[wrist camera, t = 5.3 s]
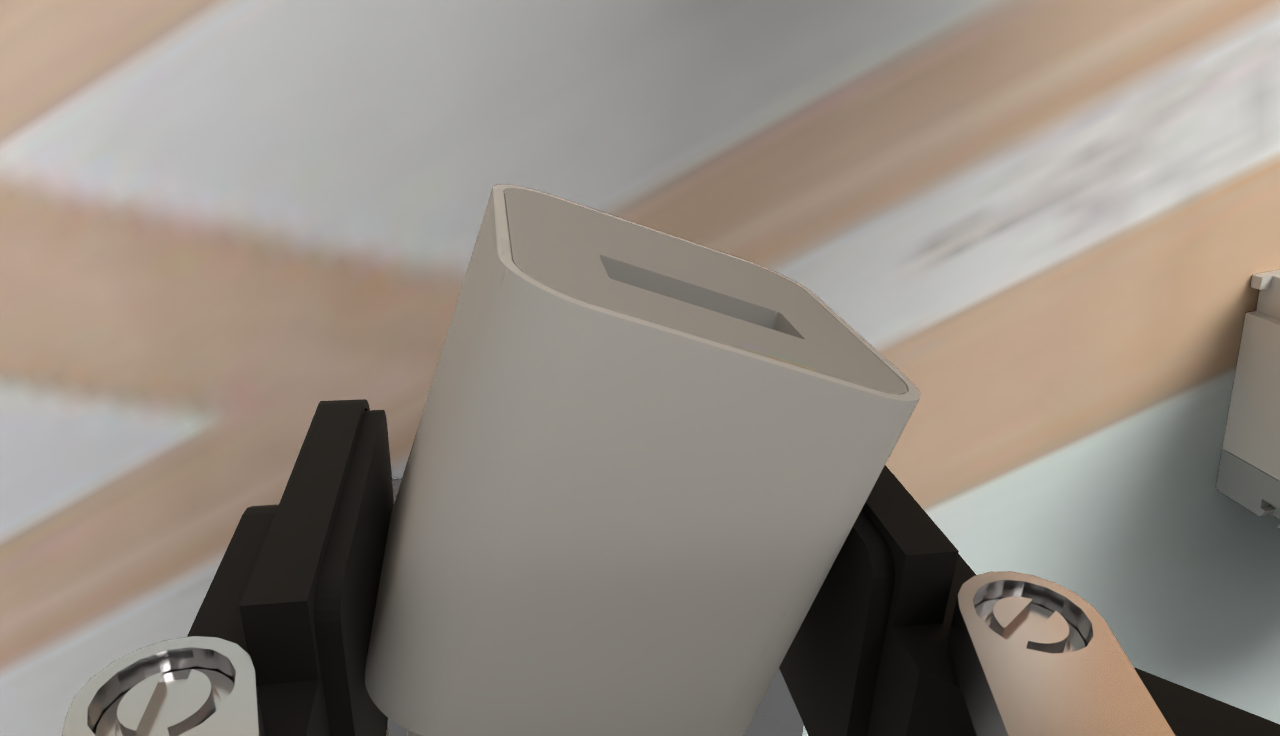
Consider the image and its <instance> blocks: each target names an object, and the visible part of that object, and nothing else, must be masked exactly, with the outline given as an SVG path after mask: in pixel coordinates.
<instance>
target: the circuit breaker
mask: <svg viewBox="0 0 1280 736" xmlns="http://www.w3.org/2000/svg"><path fill="white" fill-rule="evenodd" d="M1250 287H1251V288H1255V289H1259V290H1260V292H1259V297H1258V303H1257V308H1256V311H1253V312H1248V313H1246V315H1245V321H1244V326H1243V332H1242V338H1241V344H1240V349H1239V355H1238V361H1237V367H1236V372H1235V378H1234V384H1233V389H1232V395H1231V401H1230V407H1229V412H1228V418H1227V424H1226V430H1225V435H1224V441H1223V447H1222V453H1221V458H1220V464H1219V470H1218V476H1217V482H1216V488H1217V490H1218V491H1219V492H1221V493H1223V494H1224V495H1226V496H1227V497H1229V498H1231V499H1232V500H1234V501H1235V502H1237V503H1239V504H1240V505H1242V506H1243V507H1245V508H1247V509H1248V510H1250V511H1252V512H1253V513H1255V514H1256V515H1258V516H1265V515H1269V514H1271V515H1272V516H1274V517H1276V518H1277V519H1279V520H1280V270H1275V271H1270V272H1264V273H1259V274H1253V275H1252V281H1251V286H1250ZM1277 528H1279V529H1280V525H1279V526H1277Z"/></svg>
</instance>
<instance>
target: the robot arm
mask: <svg viewBox="0 0 1280 736" xmlns="http://www.w3.org/2000/svg"><path fill="white" fill-rule="evenodd" d="M393 506H394V496H393V485H392V474H391V464H390V453H389V442H388V431H387V421H386V414H385V411H384V410H372V411H370V409H369V404H368V402H367V400H340V401H320V403H319V405H318V407H317V410H316V412H315V415H314V417H313V420H312V422H311V425H310V428H309V430H308V433H307V435H306V438H305V440H304V443H303V445H302V448H301V450H300V453H299V455H298V458H297V461H296V463H295V466H294V468H293V471H292V473H291V476H290V478H289V481H288V483H287V486H286V489H285V491H284V494H283V496H282V499H281V501H280V504H279V505H266V506H251V507H248V508H247V509H246V511H245V512H244V514H243V515H242V517H241V520H240V522H239V524H238V526H237V528H236V531H235V533H234V535H233V537H232V539H231V542H230V544H229V546H228V548H227V550H226V553H225V555H224V557H223V559H222V561H221V564H220V566H219V568H218V570H217V572H216V575H215V577H214V579H213V581H212V583H211V585H210V588H209V590H208V592H207V594H206V596H205V599H204V601H203V603H202V605H201V607H200V610H199V612H198V614H197V616H196V618H195V621H194V623H193V625H192V627H191V629H190V632H189V634H188V636H187V637H184V638H177V639H170V640H165V641H162V642H159V643H156V644H153V645H149V646H146V647H143V648H140V649H138V650H136V651H134V652H132V653H130V654H128V655H126V656H124V657H122V658H120V659H118V660H116V661H114V662H113V663H111V664H110V665H108V666H107V667H106V668H104V669H103V670H102V671H100V672H99V673H98V674H96V675H95V676H94V677H92V678H91V679H90V680H89V681H88V682H87V684H86V685H85V686H84V687H83V688H82V689H81V690H80V692H79V693H78V694H77V695H76V696H75V697H74V699H73V701H72V704H71V706H70V708H69V711H68V713H67V715H66V717H65V722H64V727H63V732H62V736H386V730H387V723H388V717H387V716H386V715H385V714H383V713H382V712H381V711H380V710H379V708H378V707H377V706H376V705H375V704H374V702H373V701H372V699H371V697H370V696H369V694H368V691H367V689H366V686H365V668H366V660H367V654H368V648H369V642H370V636H371V630H372V624H373V618H374V612H375V607H376V601H377V595H378V589H379V583H380V577H381V571H382V565H383V559H384V553H385V547H386V541H387V535H388V530H389V524H390V518H391V513H392V510H393ZM958 552H959V551H958V550H957V549H956V548H955V547H954V545H953V544H952V543H951V542H950V541H949V540H948V538H947V537H946V536H945V535H944V534H943V532H942V531H941V530H940V529H939V528H938V527H937V525H936V524H935V523H934V522H933V521H932V520H931V518H930V517H929V516H928V515H927V514H926V512H925V511H924V510H923V509H922V508H921V507H920V505H919V504H918V503H917V502H916V501H915V500H914V498H913V497H912V496H911V495H910V494H909V492H908V491H907V490H906V489H905V488H904V487H903V485H902V484H901V483H900V482H899V481H898V480H897V478H896V477H895V476H894V475H893V474H892V473H891V471H890V470H889V469H888V468H887V467H886V465H885V466H884V468H883V469H882V471H881V473H880V475H879V477H878V479H877V481H876V483H875V485H874V487H873V489H872V491H871V492H870V494H869V496H868V498H867V500H866V502H865V504H864V506H863V508H862V510H861V512H860V513H859V515H858V517H857V519H856V521H855V523H854V525H853V527H852V529H851V531H850V533H849V534H848V536H847V538H846V540H845V542H844V544H843V546H842V548H841V550H840V552H839V554H838V556H837V557H836V559H835V561H834V563H833V565H832V567H831V569H830V571H829V573H828V575H827V577H826V578H825V580H824V582H823V584H822V586H821V588H820V590H819V592H818V594H817V596H816V598H815V599H814V601H813V603H812V605H811V607H810V609H809V611H808V613H807V615H806V617H805V619H804V621H803V622H802V624H801V626H800V628H799V630H798V632H797V634H796V636H795V638H794V640H793V642H792V643H791V645H790V647H789V649H788V651H787V653H786V655H785V657H784V659H783V661H782V663H781V664H780V666H779V669H780V671H781V673H782V676H783V678H784V680H785V683H786V685H787V687H788V689H789V692H790V694H791V696H792V699H793V701H794V703H795V705H796V708H797V710H798V712H799V714H800V717H801V719H802V721H803V724H804V726H805V728H806V730H807V733H808V735H809V736H1280V725H1279V724H1277V723H1274V722H1272V721H1269V720H1267V719H1264V718H1262V717H1259V716H1256V715H1254V714H1251V713H1249V712H1246V711H1244V710H1241V709H1239V708H1236V707H1234V706H1231V705H1228V704H1226V703H1223V702H1221V701H1218V700H1216V699H1213V698H1211V697H1208V696H1206V695H1203V694H1200V693H1198V692H1195V691H1193V690H1190V689H1188V688H1185V687H1183V686H1180V685H1177V684H1175V683H1172V682H1170V681H1167V680H1165V679H1162V678H1160V677H1157V676H1155V675H1152V674H1149V673H1147V672H1144V671H1142V670H1139V669H1137V668H1134V667H1133V666H1132V664H1131V662H1130V661H1129V659H1128V657H1127V656H1126V654H1125V652H1124V651H1123V649H1122V648H1121V646H1120V644H1119V643H1118V641H1117V639H1116V638H1115V636H1114V634H1113V633H1112V631H1111V630H1110V628H1109V626H1108V625H1107V623H1106V621H1105V620H1104V619H1103V618H1102V616H1101V615H1100V614H1099V613H1098V612H1097V611H1096V609H1095V608H1094V607H1093V606H1092V605H1091V604H1089V603H1088V602H1087V601H1085V600H1084V599H1083V598H1081V597H1080V596H1079V595H1077V594H1076V593H1074V592H1072V591H1070V590H1068V589H1066V588H1064V587H1062V586H1060V585H1058V584H1057V583H1054V582H1051V581H1048V580H1045V579H1042V578H1039V577H1036V576H1033V575H1028V574H1022V573H1017V572H1011V571H1008V572H987V573H984V574H980V575H976V574H975V573H974V572H973V570H972V569H971V568H970V567H969V566H968V565H967V563H966V562H965V561H964V560H963V559H962V557H961V556H960V555H959V554H958Z"/></svg>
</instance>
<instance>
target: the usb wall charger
mask: <svg viewBox="0 0 1280 736" xmlns="http://www.w3.org/2000/svg"><path fill="white" fill-rule="evenodd" d="M920 397H921V393H920V391H919V389H918V388H917V387H916V386H915V384H914V383H913V382H911V381H910V380H909V379H908V378H907V377H906V376H905V375H904V374H903V373H901V372H900V371H899V370H898V369H897V368H896V367H895V366H894V365H893V364H892V363H890V362H889V361H888V360H887V359H886V358H885V357H884V356H883V355H882V354H880V353H879V352H878V351H877V350H876V349H875V348H874V347H873V346H872V345H871V344H869V343H868V342H867V341H866V340H865V339H864V338H863V337H862V336H861V335H859V334H858V333H857V332H856V331H855V330H854V329H853V328H852V327H851V326H849V325H848V324H847V323H846V322H845V321H844V320H843V319H842V318H841V317H840V316H838V315H837V314H836V313H835V312H834V311H833V310H832V309H831V308H830V307H828V306H827V305H826V304H825V303H824V302H823V301H822V300H821V299H820V298H819V297H817V296H816V295H815V294H814V293H813V292H811V291H810V290H808V289H807V288H805V287H804V286H802V285H800V284H798V283H797V282H795V281H793V280H791V279H789V278H787V277H785V276H783V275H781V274H779V273H777V272H774V271H772V270H770V269H767V268H765V267H763V266H760V265H758V264H755V263H752V262H750V261H747V260H744V259H741V258H738V257H735V256H732V255H729V254H726V253H723V252H720V251H717V250H714V249H711V248H708V247H705V246H702V245H699V244H696V243H693V242H690V241H687V240H684V239H681V238H678V237H675V236H672V235H669V234H667V233H664V232H661V231H658V230H655V229H652V228H649V227H646V226H643V225H640V224H637V223H634V222H631V221H628V220H625V219H622V218H619V217H616V216H613V215H610V214H607V213H604V212H601V211H598V210H595V209H592V208H589V207H586V206H583V205H580V204H577V203H574V202H571V201H568V200H565V199H562V198H559V197H556V196H553V195H550V194H547V193H544V192H541V191H537V190H533V189H529V188H525V187H521V186H515V185H507V184H499V185H495V186H494V187H493V189H492V192H491V195H490V199H489V202H488V205H487V208H486V211H485V215H484V218H483V221H482V224H481V227H480V231H479V234H478V237H477V240H476V243H475V247H474V250H473V253H472V256H471V259H470V263H469V266H468V269H467V272H466V275H465V279H464V282H463V285H462V288H461V292H460V295H459V298H458V301H457V304H456V308H455V311H454V314H453V317H452V320H451V324H450V327H449V330H448V333H447V336H446V340H445V343H444V346H443V349H442V352H441V356H440V359H439V362H438V365H437V369H436V372H435V375H434V378H433V381H432V385H431V388H430V391H429V394H428V397H427V401H426V404H425V407H424V410H423V413H422V417H421V420H420V423H419V426H418V429H417V433H416V436H415V439H414V442H413V446H412V449H411V452H410V455H409V458H408V462H407V465H406V468H405V471H404V474H403V478H402V481H401V484H400V487H399V490H398V494H397V497H396V500H395V503H394V506H393V510H392V513H391V518H390V524H389V530H388V535H387V541H386V547H385V553H384V559H383V565H382V571H381V577H380V583H379V589H378V595H377V601H376V607H375V612H374V618H373V624H372V630H371V636H370V642H369V648H368V654H367V660H366V668H365V686H366V689H367V691H368V694H369V696H370V697H371V699H372V701H373V702H374V704H375V705H376V706H377V707H378V708H379V710H380V711H381V712H382V713H383V714H385V715H386V716H387V717H388V718H389V719H391V720H392V721H393V722H395V723H396V724H398V725H400V726H401V727H403V728H405V729H407V730H408V731H407V734H406V736H743V735H744V733H745V731H746V729H747V728H748V726H749V724H750V722H751V720H752V718H753V716H754V714H755V712H756V710H757V708H758V707H759V705H760V703H761V701H762V699H763V697H764V695H765V693H766V691H767V689H768V687H769V686H770V684H771V682H772V680H773V678H774V676H775V674H776V672H777V670H778V668H779V666H780V664H781V663H782V661H783V659H784V657H785V655H786V653H787V651H788V649H789V647H790V645H791V643H792V642H793V640H794V638H795V636H796V634H797V632H798V630H799V628H800V626H801V624H802V622H803V621H804V619H805V617H806V615H807V613H808V611H809V609H810V607H811V605H812V603H813V601H814V599H815V598H816V596H817V594H818V592H819V590H820V588H821V586H822V584H823V582H824V580H825V578H826V577H827V575H828V573H829V571H830V569H831V567H832V565H833V563H834V561H835V559H836V557H837V556H838V554H839V552H840V550H841V548H842V546H843V544H844V542H845V540H846V538H847V536H848V534H849V533H850V531H851V529H852V527H853V525H854V523H855V521H856V519H857V517H858V515H859V513H860V512H861V510H862V508H863V506H864V504H865V502H866V500H867V498H868V496H869V494H870V492H871V491H872V489H873V487H874V485H875V483H876V481H877V479H878V477H879V475H880V473H881V471H882V469H883V468H884V466H885V464H886V462H887V460H888V458H889V456H890V454H891V452H892V450H893V448H894V447H895V445H896V443H897V441H898V439H899V437H900V435H901V433H902V431H903V429H904V427H905V426H906V424H907V422H908V420H909V418H910V416H911V414H912V412H913V410H914V408H915V406H916V404H917V403H918V401H919V399H920Z"/></svg>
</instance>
